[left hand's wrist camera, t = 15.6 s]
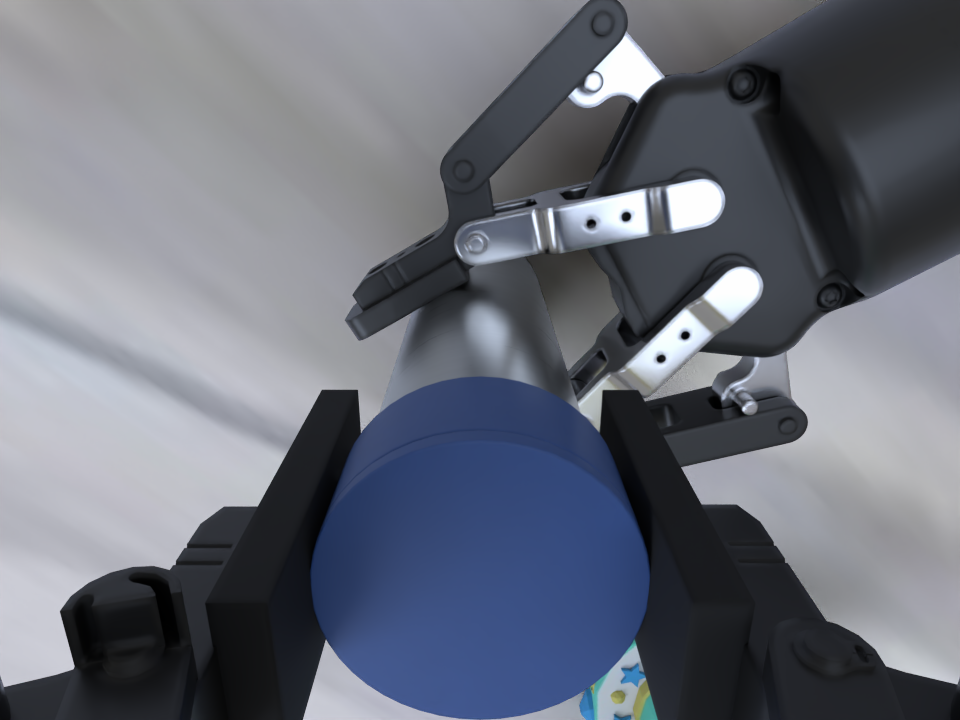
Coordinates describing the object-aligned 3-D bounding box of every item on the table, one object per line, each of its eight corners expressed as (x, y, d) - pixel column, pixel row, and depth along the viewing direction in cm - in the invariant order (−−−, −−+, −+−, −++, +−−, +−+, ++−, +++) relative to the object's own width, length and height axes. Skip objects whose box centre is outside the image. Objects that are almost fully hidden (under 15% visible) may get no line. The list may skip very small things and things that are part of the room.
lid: (432, 654, 14) (424, 762, 12) (283, 459, 12) (239, 539, 10) (666, 548, 13) (705, 642, 11) (538, 322, 11) (552, 377, 9)
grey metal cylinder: (403, 329, 27) (302, 632, 11) (444, 219, 25) (391, 398, 10) (512, 369, 27) (554, 706, 12) (558, 263, 26) (673, 497, 10)
